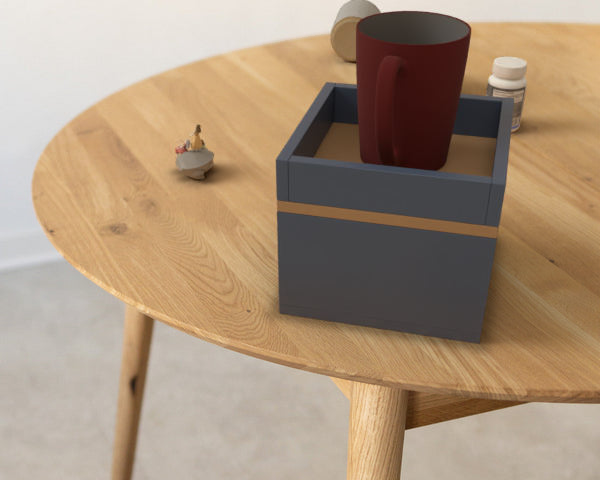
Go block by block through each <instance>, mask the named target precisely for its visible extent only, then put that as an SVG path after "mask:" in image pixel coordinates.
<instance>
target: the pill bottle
mask: <svg viewBox="0 0 600 480" xmlns="http://www.w3.org/2000/svg"><path fill="white" fill-rule="evenodd" d="M527 68H528V62H527V61H526V60H525V59H523V58H520V57H516V56H507V55H506V56H499V57H496V58H494V60H493V63H492V67H491V70H492V71H491V73H492V74H490V75H489V77H488V78H487V83H486V92H485V93H486V94H485V96H493V97H502V98H503V97H506V98H514V107H513V117H512V128H511V133H515V132H517V130H519V129H520V127H521V122H522V116H523V110H524V105H525V99H526V92H527V86H528V80H527V78H526V74H527Z"/></svg>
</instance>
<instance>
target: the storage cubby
mask: <svg viewBox="0 0 600 480" xmlns="http://www.w3.org/2000/svg"><path fill="white" fill-rule="evenodd" d="M513 107H514V98H506V97H503V98H502V97H493V96H486V95H481V94H468V93H461V94H460V99H459V104H458V109H457V114H456V119H455V123H454V128H453V133H452V138H451V142H450V147H449V152H448V156H447V161H446V163H445V165H444V166H443V167H442V168H440V169H439V170H437V171H430V170H421V169H412V168H403V167H393V166H384V165H375V164H366V163H363V161H362V160H361V158H360V145H359V125H358V103H357V83H356V84H355V83H345V82H344V83H343V82H342V83H341V82H332V81H331V82H330V81H326V82H325V83H324V85H323V86H322V87H321V89H320V91H319V92H318V94H317V96H315V98H314V100H313V101H312V103H311V104H310V105H309V107H308V109H307V111H306V112H305V114H304V115H303V117H302V118H301V119H300V121H299V123H298V125H297V126H296V127H295V129H294V131H293V132H292V134H291V135H290V137H289V138H288V139H287V141H286V143H285V145H284V146H283V147H282V149H281V151H280V152H279V153H278V155H277V157H276V158H275V187H276V188H275V191H276V192H275V193H276V235H277V276H278V278H277V279H278V280H277V281H278V314H280V315H285V316H293V317H299V318H306V319H314V320H320V321H326V322H333V323H338V324H339V323H340V324H345V325H346V324H347V325H353V326H359V327H365V328H373V329H377V330H384V331H385V330H386V331H392V332H398V333H404V334H411V335H416V336H417V335H418V336H425V337H431V338H439V339H444V340H451V341H457V342H464V343H471V344H477V345H480V343H481V338H482V331H483V325H484V319H485V313H486V308H487V307H486V306H487V301H488V295H489V288H490V283H491V277H492V271H493V266H494V258H495V253H496V247H497V242H498V235H499V229H500V223H501V218H502V210H503V206H504V205H503V204H504V199H505V194H506V187H507V179H508V169H509V168H508V167H509V160H510V159H509V157H510V147H511V137H512V132H511V128H512V117H513Z"/></svg>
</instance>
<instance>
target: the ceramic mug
mask: <svg viewBox="0 0 600 480" xmlns="http://www.w3.org/2000/svg"><path fill="white" fill-rule="evenodd" d="M378 13H382V12H381V10H380V9H379V8H378V6H377V5H376V4H375V3H374V2H371V1H369V0H348V1H346V2H345V3H343V4H342V6H340V8H339V10H338V11H337V13H336V17H335V19H334V21H333V24H332V26H331V29H330V44H331V47H332V49H333V51H334V53H335V54H336V55H337V56H338V57H339V58H341V59H342V60H344V61H347V62H352V63H353V62H355V63H356V25H357V23H358V22H359V21H360V20H361V19H363V18H365V17H367V16H370V15H374V14H378Z"/></svg>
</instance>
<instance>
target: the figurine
mask: <svg viewBox="0 0 600 480" xmlns="http://www.w3.org/2000/svg"><path fill="white" fill-rule="evenodd" d="M200 134H202V126H201V124H199V123H197V124H196V125H195V129H194V131H193V132H191V133H190V134H189V137H188V138H186V139H184V140H185V141H182V140H181V139H179V140H176V143H177V142H178V146H176V147H175V148H174V153H175V154H176V155H175V165H176V167H177V168H178V170H179V171H180V172H181V173H183V174H184V175H185V176H186V177H189V178H192V179H195V180H199V181H202V180H204V179H205V173H206V172H208V171H209V170H210V169H211V168H212V167H213V166H214V158H215V153H214V152H213V151H211V150H209V148H207V145H206V142H205V141H204V139H201V137H200ZM191 136H192V137H193V138H192V141H191V140H190V139H191ZM181 142H182V145H181ZM190 148H191V149H190Z"/></svg>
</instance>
